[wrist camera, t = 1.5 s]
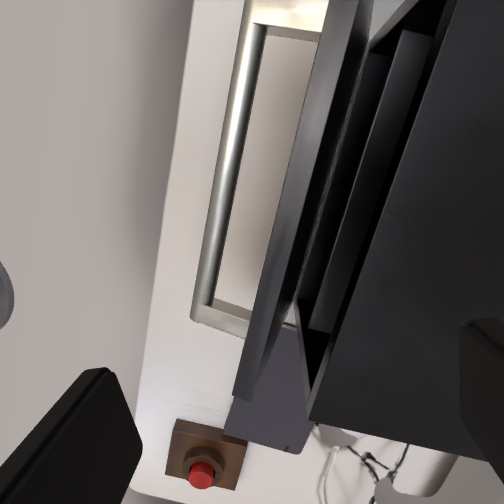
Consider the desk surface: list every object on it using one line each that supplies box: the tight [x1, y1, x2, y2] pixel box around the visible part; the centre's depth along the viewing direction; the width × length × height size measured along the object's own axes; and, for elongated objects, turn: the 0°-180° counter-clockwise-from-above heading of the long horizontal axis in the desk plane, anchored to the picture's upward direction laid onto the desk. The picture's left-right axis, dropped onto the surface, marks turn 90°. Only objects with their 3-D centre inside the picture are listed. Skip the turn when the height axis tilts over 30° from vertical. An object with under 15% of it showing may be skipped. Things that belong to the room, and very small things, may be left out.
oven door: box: [190, 0, 374, 403], centre depth 30 cm, size 8×32×20 cm, turn 168°
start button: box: [189, 462, 214, 489], centre depth 49 cm, size 4×4×2 cm
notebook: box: [223, 323, 315, 454], centre depth 47 cm, size 13×2×21 cm
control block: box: [165, 419, 248, 491], centre depth 51 cm, size 12×10×4 cm
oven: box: [294, 0, 504, 462], centre depth 29 cm, size 26×32×20 cm
